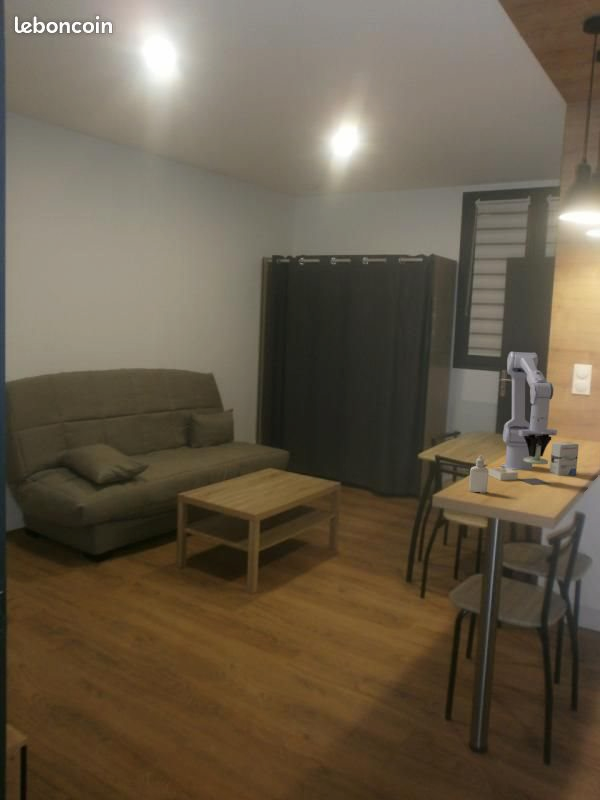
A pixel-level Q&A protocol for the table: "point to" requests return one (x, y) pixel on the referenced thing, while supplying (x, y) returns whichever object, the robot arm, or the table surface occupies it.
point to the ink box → (564, 458)
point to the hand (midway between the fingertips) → (535, 456)
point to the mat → (534, 481)
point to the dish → (503, 474)
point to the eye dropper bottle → (478, 477)
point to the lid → (536, 457)
